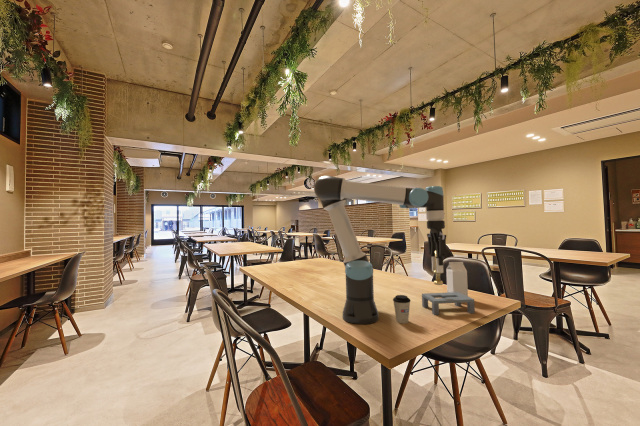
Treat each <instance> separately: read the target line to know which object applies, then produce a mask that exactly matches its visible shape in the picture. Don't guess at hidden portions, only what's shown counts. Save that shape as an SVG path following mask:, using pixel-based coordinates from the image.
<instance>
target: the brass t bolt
mask: <svg viewBox="0 0 640 426" xmlns="http://www.w3.org/2000/svg"><path fill="white" fill-rule="evenodd" d="M436 257H437V251H435V267H436V270H433V271H432V272H433V274H435V280H433V284H434V285H435V286H436V285H437V286H442V285H444V282H443V280H441V274H443V273H437V265H436Z"/></svg>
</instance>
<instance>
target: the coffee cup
mask: <svg viewBox="0 0 640 426" xmlns="http://www.w3.org/2000/svg"><path fill="white" fill-rule="evenodd" d="M392 301H393V305H394V306H393V307H394V313H395V314H394V315H395V319H396V322H397V323H399V324H408V323H409V318H410V306H411V305H410V304H411V302H412V301H411V298H409V297H408V296H407V295H405V294H404V295H403V294H397V295H395V297H393V299H392Z"/></svg>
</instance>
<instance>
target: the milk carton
mask: <svg viewBox="0 0 640 426" xmlns="http://www.w3.org/2000/svg"><path fill="white" fill-rule="evenodd" d="M445 271H446V293H448V292H459V293H462V294H464V295H466V296H468V297H469V292H468V291H469V290H468V288H469V287H468V270H467V268H466V267H465V264H464V261H451V262H450V261H449V262H448V265H447V267H446V270H445Z"/></svg>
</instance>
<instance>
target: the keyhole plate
mask: <svg viewBox="0 0 640 426" xmlns="http://www.w3.org/2000/svg"><path fill="white" fill-rule="evenodd" d="M429 302H430V303H431V313H432V315H433V316H440V309H439V308H440V305H441V304H442V305H443V304H454V305H455V306H456V307H462V303H466V307H467V312H468V313H469V314H475V313H476V312H475V311H476V310H475V309H476V308H475V299H474V298H472V297H470V296H469V295H468V296H466V295H464V294H462V293H459V292H448V293H447V292H433V293H432V292H431V293H430V292H429V293H428V292H427V293H421V306H422V308H424V309H426V308H429ZM439 304H440V305H439Z"/></svg>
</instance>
